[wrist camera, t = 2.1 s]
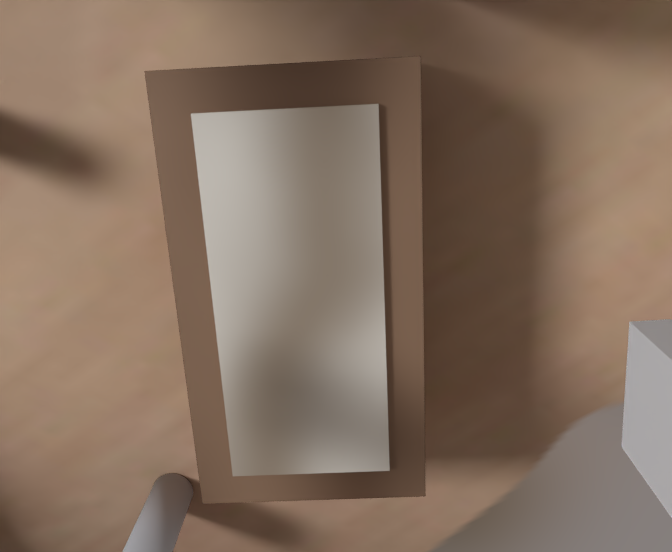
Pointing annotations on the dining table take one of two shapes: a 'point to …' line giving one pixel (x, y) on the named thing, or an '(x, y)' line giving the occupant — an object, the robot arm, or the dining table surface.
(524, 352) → the dining table surface
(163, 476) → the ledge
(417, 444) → the frame
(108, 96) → the dining table surface
